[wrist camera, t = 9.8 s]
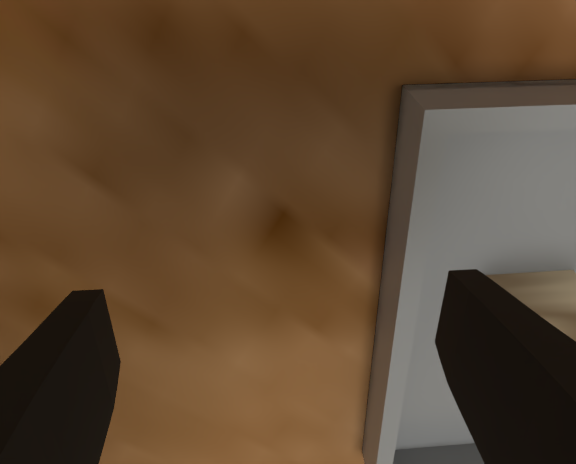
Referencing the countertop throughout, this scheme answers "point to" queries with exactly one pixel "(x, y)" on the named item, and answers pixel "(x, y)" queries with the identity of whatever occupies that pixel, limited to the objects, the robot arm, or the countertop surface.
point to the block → (545, 295)
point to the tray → (462, 240)
